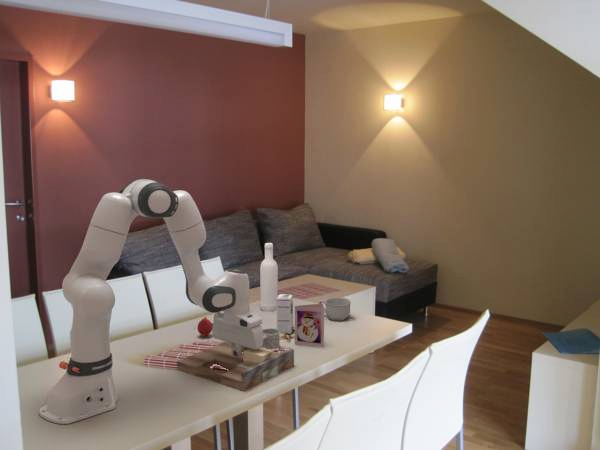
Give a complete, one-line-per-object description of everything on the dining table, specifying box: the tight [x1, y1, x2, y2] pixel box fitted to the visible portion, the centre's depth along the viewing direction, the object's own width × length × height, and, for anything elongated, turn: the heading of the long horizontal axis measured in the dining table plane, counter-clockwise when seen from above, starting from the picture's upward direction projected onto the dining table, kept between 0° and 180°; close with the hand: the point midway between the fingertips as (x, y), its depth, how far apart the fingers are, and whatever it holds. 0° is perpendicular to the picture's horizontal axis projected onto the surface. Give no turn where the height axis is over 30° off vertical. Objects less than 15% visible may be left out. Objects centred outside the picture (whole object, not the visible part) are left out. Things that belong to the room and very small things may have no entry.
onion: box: [197, 316, 213, 338], centre depth 247 cm, size 6×6×8 cm
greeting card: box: [294, 302, 325, 348], centre depth 239 cm, size 11×7×15 cm, turn 73°
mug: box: [261, 328, 280, 349], centre depth 233 cm, size 10×7×7 cm, turn 149°
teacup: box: [318, 296, 352, 322], centre depth 271 cm, size 14×11×8 cm
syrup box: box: [276, 293, 294, 334], centre depth 253 cm, size 6×6×14 cm
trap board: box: [176, 341, 295, 392], centre depth 216 cm, size 26×30×6 cm
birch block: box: [242, 347, 275, 367], centre depth 210 cm, size 6×8×5 cm
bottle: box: [259, 242, 279, 312], centre depth 282 cm, size 8×8×30 cm
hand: (237, 355), depth 215 cm, fingers closed
